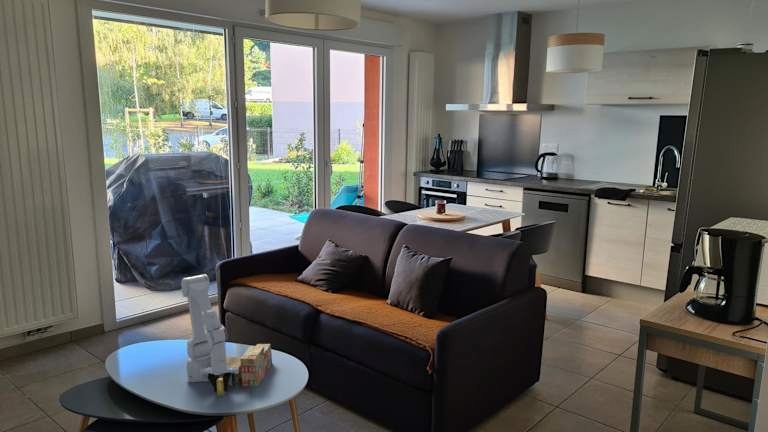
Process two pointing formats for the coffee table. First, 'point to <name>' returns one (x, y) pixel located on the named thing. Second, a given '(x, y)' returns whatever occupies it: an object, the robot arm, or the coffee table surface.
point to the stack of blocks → (255, 364)
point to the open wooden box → (234, 363)
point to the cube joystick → (221, 384)
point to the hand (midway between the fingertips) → (221, 390)
